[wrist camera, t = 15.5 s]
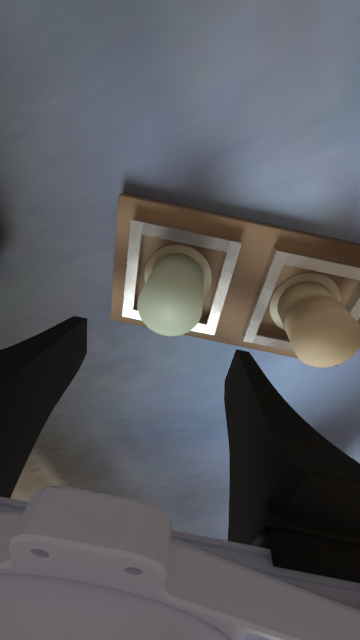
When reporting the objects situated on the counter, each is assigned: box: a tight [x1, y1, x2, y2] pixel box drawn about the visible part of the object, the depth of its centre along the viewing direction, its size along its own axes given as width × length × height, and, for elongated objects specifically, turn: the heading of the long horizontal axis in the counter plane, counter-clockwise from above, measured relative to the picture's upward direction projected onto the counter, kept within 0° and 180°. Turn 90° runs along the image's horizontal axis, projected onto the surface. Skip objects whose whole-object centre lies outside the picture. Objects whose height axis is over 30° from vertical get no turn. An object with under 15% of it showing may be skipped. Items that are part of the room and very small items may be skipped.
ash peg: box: [277, 281, 360, 367], centre depth 19 cm, size 4×4×5 cm
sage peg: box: [137, 253, 204, 336], centre depth 19 cm, size 4×4×5 cm
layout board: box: [111, 194, 360, 366], centre depth 21 cm, size 10×20×2 cm, turn 79°
